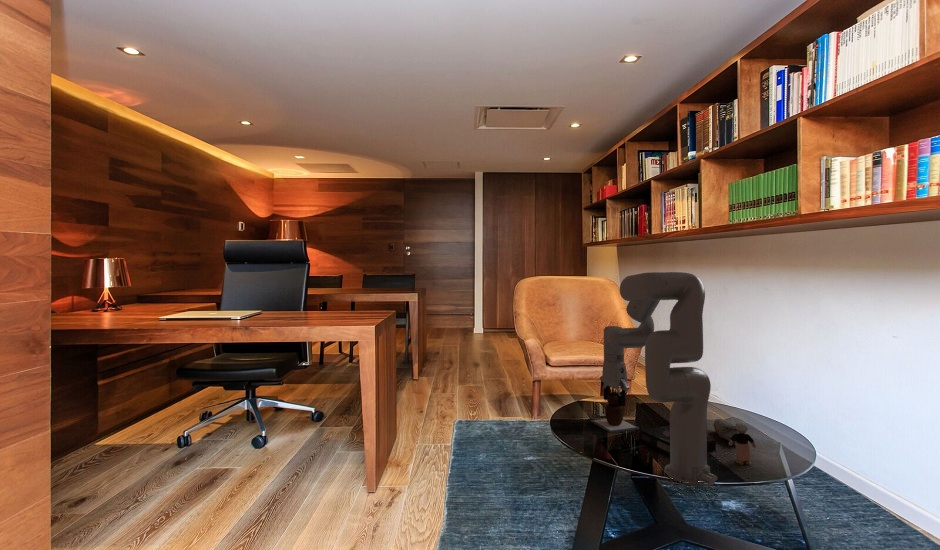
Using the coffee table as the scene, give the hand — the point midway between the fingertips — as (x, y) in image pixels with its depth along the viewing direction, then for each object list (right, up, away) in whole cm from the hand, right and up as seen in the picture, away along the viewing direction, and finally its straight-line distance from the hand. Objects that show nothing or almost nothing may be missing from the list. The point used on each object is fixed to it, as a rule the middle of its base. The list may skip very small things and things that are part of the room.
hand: (614, 402), depth 162 cm
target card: (0, -9, 0) cm, 9 cm away
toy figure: (+28, -9, -33) cm, 44 cm away
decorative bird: (+35, -9, -15) cm, 39 cm away
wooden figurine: (0, -9, 0) cm, 9 cm away
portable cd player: (+15, -9, -20) cm, 26 cm away
